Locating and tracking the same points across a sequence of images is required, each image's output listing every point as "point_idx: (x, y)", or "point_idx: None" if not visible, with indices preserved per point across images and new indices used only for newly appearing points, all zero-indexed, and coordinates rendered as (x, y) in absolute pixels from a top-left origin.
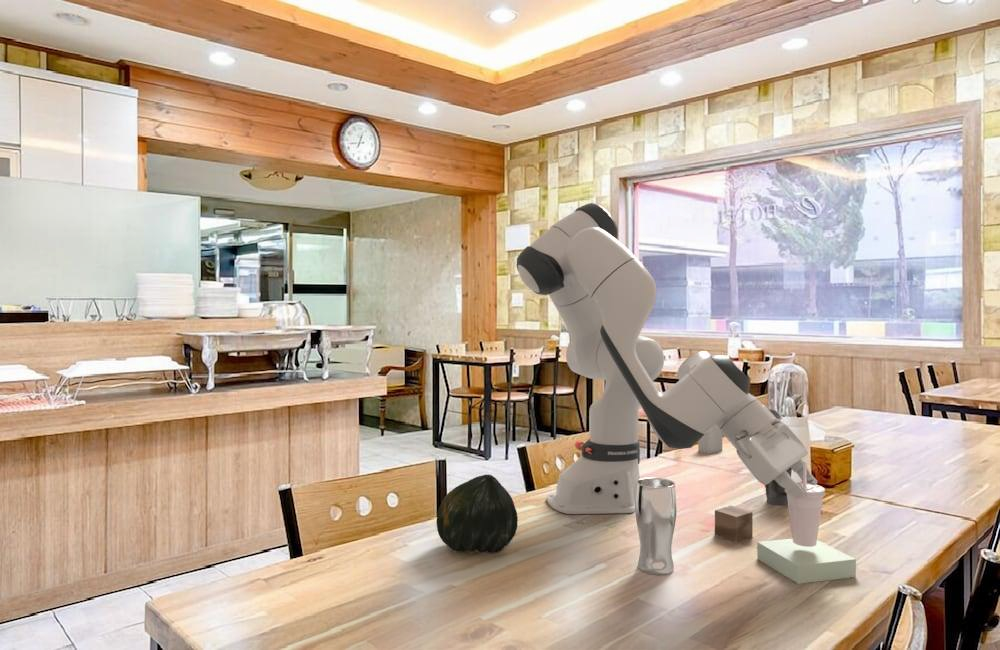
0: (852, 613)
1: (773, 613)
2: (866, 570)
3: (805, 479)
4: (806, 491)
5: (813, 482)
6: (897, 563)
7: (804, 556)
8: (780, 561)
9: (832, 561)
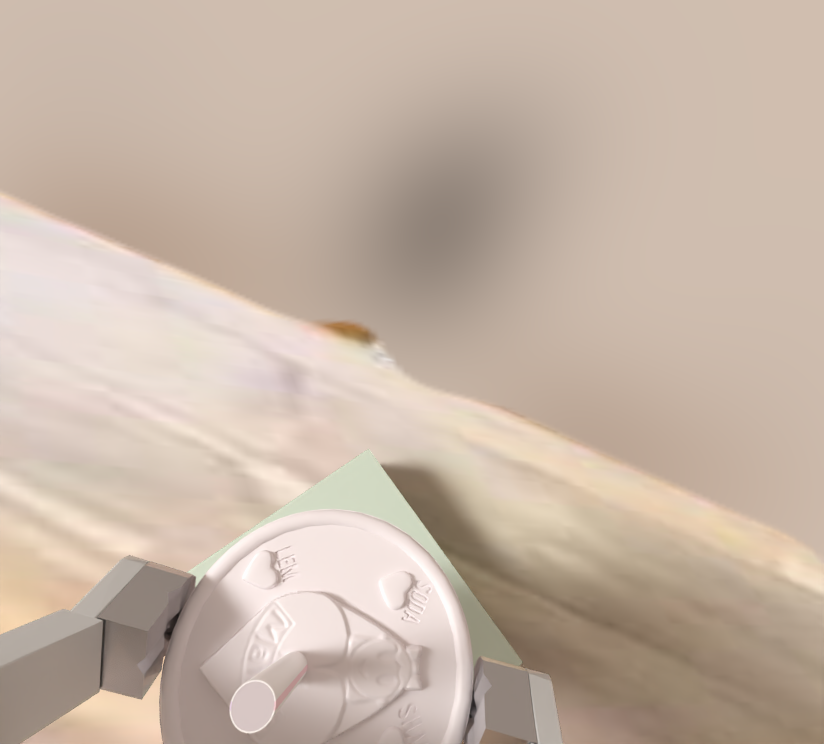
0: (637, 499)
1: (776, 737)
2: (296, 428)
3: (302, 667)
4: (441, 651)
5: (183, 588)
6: (207, 337)
7: None
8: None
9: (424, 528)
